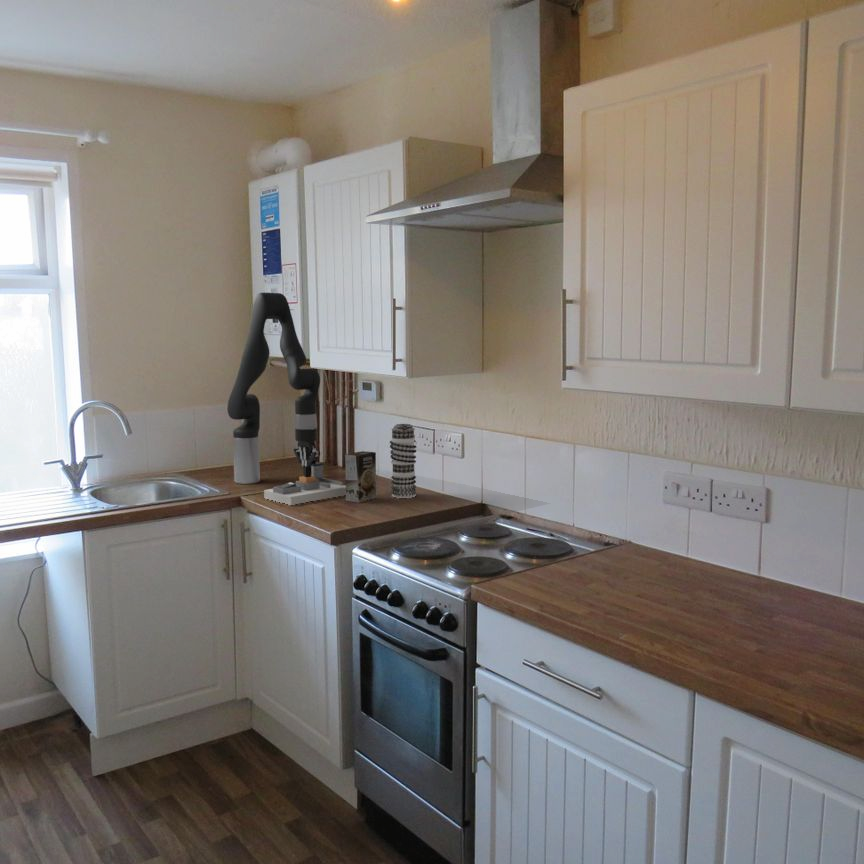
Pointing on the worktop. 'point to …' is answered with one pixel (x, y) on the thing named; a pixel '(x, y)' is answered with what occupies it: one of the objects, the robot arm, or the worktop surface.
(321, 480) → the slide paddle
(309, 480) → the push button
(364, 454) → the coffee box
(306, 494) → the control panel
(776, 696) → the worktop surface
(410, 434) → the decorative candle
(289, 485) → the rocker switch
